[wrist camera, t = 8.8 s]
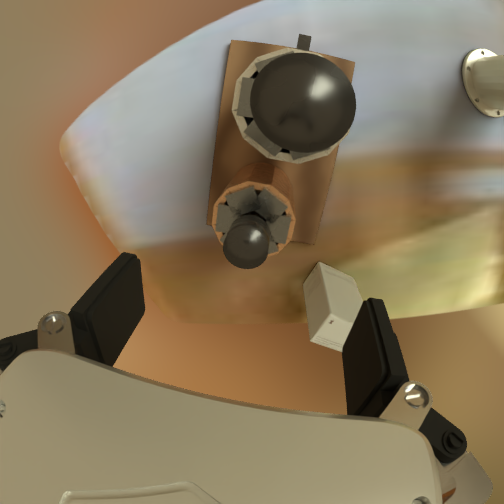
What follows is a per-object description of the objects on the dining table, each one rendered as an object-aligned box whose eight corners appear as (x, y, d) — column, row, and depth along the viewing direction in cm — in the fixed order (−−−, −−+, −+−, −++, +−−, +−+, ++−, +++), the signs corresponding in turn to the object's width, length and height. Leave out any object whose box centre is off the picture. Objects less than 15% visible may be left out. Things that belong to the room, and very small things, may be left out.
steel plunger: (335, 79, 25) (403, 47, 9) (322, 147, 29) (368, 204, 13) (261, 64, 25) (226, 9, 9) (250, 133, 29) (202, 172, 13)
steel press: (337, 64, 34) (366, 42, 20) (320, 149, 41) (340, 174, 26) (260, 50, 35) (246, 18, 20) (246, 135, 41) (224, 152, 26)
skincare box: (302, 283, 53) (304, 341, 40) (319, 258, 51) (328, 313, 38) (339, 300, 54) (350, 358, 41) (357, 277, 51) (375, 333, 38)
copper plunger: (285, 182, 40) (285, 225, 27) (277, 224, 43) (272, 282, 30) (240, 174, 40) (216, 212, 27) (234, 216, 43) (210, 270, 30)
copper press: (298, 168, 43) (302, 192, 31) (283, 239, 48) (281, 282, 37) (234, 157, 43) (215, 177, 32) (225, 228, 48) (206, 268, 37)
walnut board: (353, 63, 35) (355, 62, 34) (313, 241, 49) (314, 244, 48) (232, 41, 35) (231, 39, 34) (208, 221, 50) (206, 224, 48)
